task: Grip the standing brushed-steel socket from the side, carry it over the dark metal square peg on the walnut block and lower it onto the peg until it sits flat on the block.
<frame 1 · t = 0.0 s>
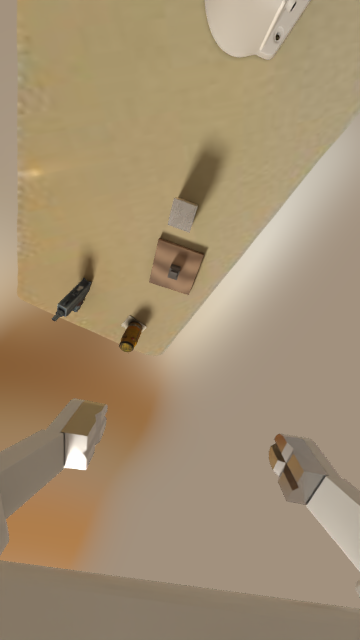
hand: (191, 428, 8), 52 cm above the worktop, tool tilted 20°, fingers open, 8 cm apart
peg block: (175, 267, 57), on the worktop
condiment: (134, 325, 73), on the worktop
gun: (83, 293, 66), on the worktop
socket: (184, 212, 48), on the worktop
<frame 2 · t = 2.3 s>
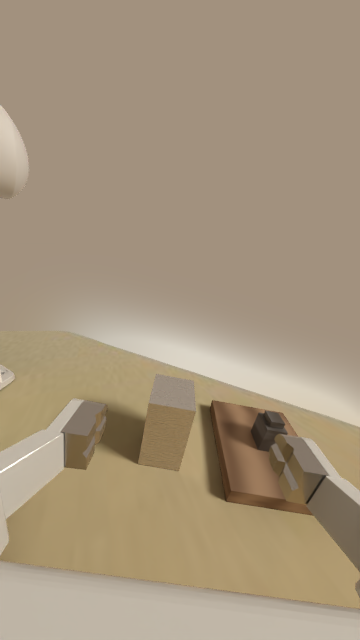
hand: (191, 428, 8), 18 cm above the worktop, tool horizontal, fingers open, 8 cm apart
peg block: (259, 450, 27), on the worktop
socket: (161, 446, 25), on the worktop
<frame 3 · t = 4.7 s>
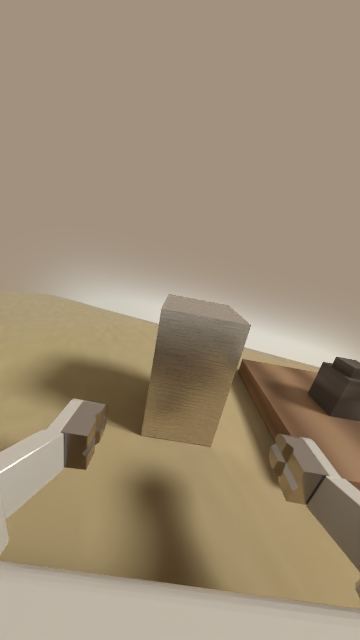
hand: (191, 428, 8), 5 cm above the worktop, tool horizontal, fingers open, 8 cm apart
peg block: (323, 421, 18), on the worktop
socket: (177, 412, 16), on the worktop
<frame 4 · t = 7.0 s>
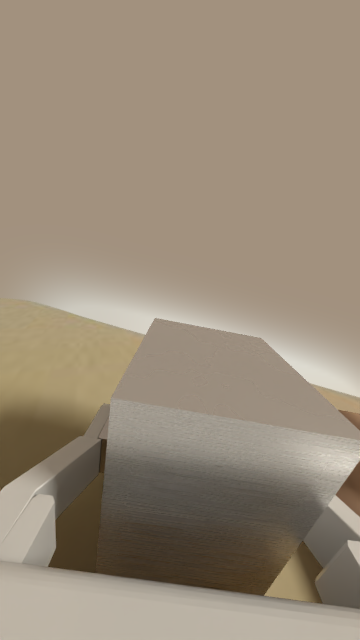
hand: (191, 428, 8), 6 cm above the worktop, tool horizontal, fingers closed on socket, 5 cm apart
socket: (169, 523, 9), on the worktop, touching gripper
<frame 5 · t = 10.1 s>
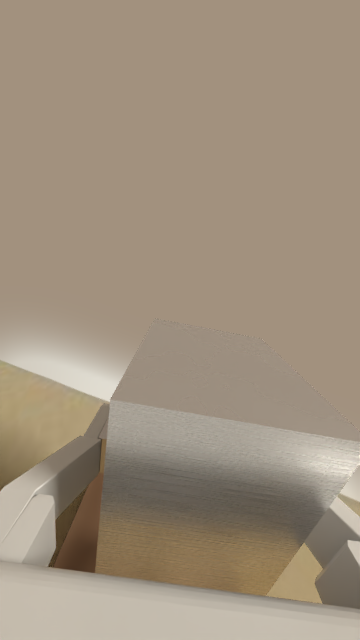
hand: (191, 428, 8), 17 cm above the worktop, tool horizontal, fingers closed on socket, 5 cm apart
peg block: (142, 616, 12), on the worktop
socket: (169, 525, 9), point 11 cm above the worktop, touching gripper
when the fingers open (8 cm above the worktop, at t = 13.4 s): socket stays where it is, resting on peg block.
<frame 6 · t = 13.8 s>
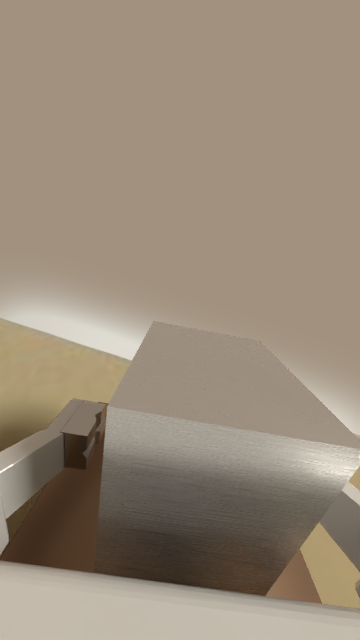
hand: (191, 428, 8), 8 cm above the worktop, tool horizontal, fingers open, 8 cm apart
peg block: (163, 546, 10), on the worktop
socket: (168, 526, 9), point 2 cm above the worktop, touching peg block
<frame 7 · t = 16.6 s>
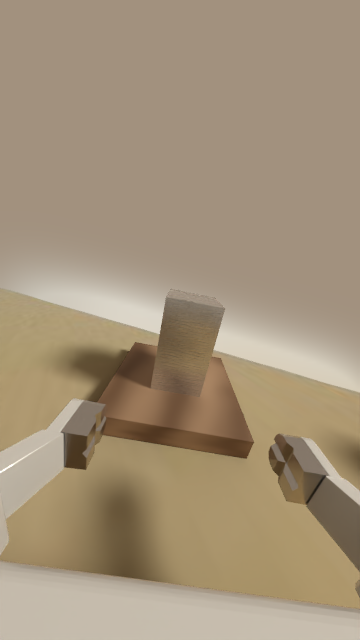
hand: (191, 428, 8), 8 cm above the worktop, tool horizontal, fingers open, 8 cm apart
peg block: (173, 390, 22), on the worktop
socket: (176, 377, 21), point 2 cm above the worktop, touching peg block
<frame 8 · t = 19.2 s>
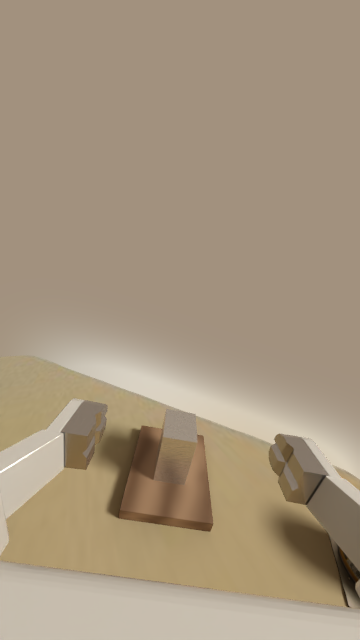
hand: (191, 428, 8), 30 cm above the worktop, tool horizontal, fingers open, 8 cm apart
peg block: (168, 472, 33), on the worktop
socket: (170, 465, 32), point 2 cm above the worktop, touching peg block
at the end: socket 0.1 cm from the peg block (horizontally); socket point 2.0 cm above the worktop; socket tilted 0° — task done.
